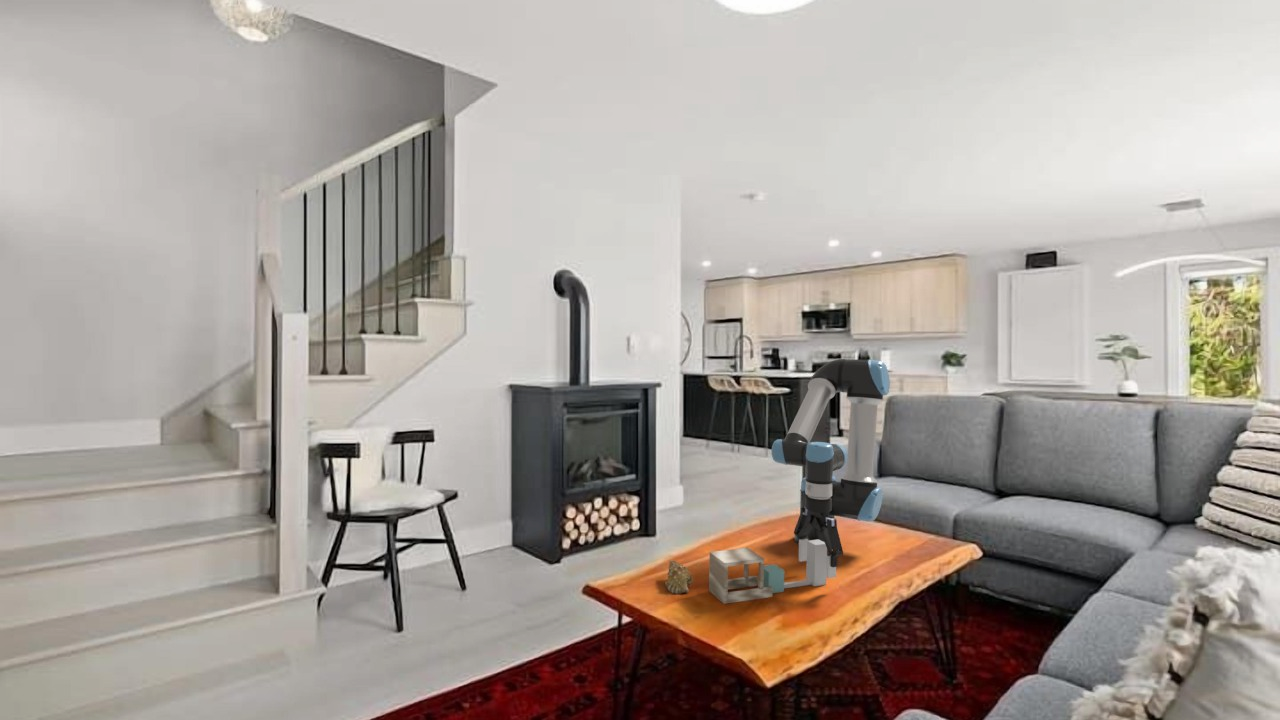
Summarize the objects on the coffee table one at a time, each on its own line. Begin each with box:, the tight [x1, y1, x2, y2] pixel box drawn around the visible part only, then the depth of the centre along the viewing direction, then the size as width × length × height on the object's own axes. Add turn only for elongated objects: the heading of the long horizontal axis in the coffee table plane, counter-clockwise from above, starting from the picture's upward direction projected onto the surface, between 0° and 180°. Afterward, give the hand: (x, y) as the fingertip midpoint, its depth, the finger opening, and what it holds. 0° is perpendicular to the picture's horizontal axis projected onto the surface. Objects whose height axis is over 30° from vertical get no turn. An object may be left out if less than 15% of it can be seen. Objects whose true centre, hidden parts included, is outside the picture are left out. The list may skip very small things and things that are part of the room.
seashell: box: [665, 560, 693, 595], centre depth 175 cm, size 9×8×10 cm
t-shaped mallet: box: [763, 539, 828, 594], centre depth 176 cm, size 20×5×12 cm, turn 110°
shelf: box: [708, 547, 774, 605], centre depth 170 cm, size 15×9×11 cm, turn 110°
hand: (816, 568), depth 178 cm, fingers open, 13 cm apart
